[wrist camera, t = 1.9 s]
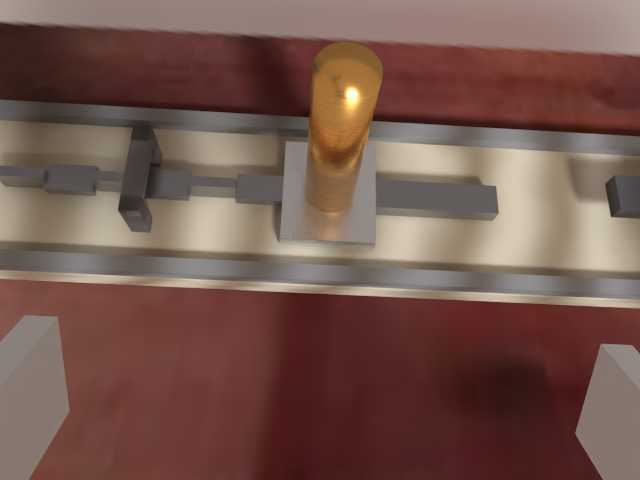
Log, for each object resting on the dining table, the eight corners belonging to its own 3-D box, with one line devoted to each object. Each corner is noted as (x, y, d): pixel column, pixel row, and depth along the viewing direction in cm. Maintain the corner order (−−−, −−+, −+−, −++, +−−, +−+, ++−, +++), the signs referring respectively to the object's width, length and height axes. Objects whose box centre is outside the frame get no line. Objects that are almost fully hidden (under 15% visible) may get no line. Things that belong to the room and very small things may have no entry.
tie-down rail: (-35, 277, 37) (-80, 248, 32) (9, 119, 42) (-25, 74, 37) (709, 311, 39) (766, 289, 34) (673, 156, 43) (719, 118, 39)
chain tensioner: (-7, 231, 36) (-155, 107, 24) (18, 136, 39) (-103, -20, 27) (495, 256, 38) (596, 150, 25) (487, 161, 40) (575, 25, 28)
